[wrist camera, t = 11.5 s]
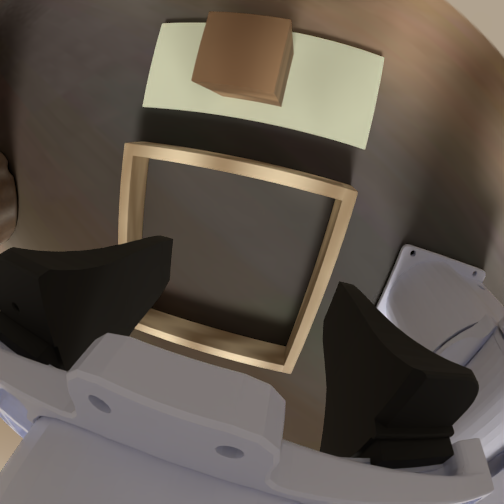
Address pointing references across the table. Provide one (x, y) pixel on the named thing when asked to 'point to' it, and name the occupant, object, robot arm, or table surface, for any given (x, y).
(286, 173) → the box
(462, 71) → the table surface
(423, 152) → the table surface
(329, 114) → the place mat
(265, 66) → the walnut block
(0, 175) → the plant pot
